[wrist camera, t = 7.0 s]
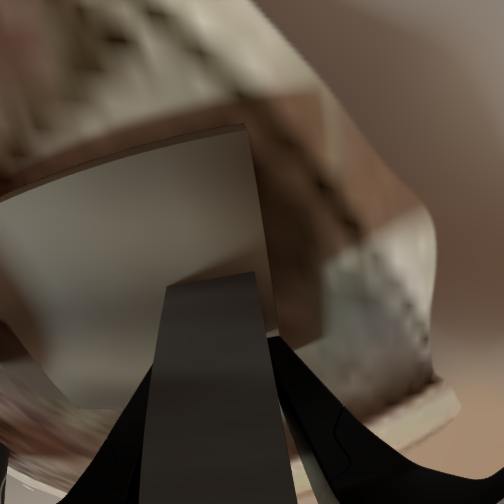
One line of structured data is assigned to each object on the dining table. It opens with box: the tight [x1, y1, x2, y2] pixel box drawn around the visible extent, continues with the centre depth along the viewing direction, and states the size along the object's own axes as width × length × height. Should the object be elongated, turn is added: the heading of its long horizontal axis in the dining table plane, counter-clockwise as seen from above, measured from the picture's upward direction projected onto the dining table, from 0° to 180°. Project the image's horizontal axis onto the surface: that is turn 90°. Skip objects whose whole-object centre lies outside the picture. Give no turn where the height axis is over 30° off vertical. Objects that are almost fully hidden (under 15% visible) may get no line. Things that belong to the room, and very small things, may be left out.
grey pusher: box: [0, 123, 297, 504], centre depth 8 cm, size 12×12×10 cm
